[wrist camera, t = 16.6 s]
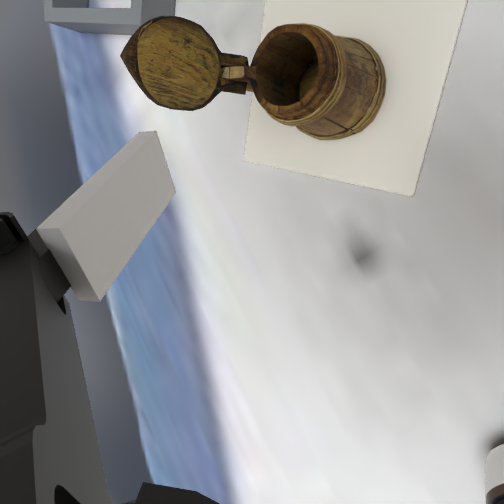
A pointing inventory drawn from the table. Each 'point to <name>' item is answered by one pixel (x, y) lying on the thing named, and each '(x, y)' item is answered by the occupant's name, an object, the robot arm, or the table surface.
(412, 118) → the cream board
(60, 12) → the hollow square frame
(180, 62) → the wooden mug
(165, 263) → the table surface
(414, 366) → the table surface
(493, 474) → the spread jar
